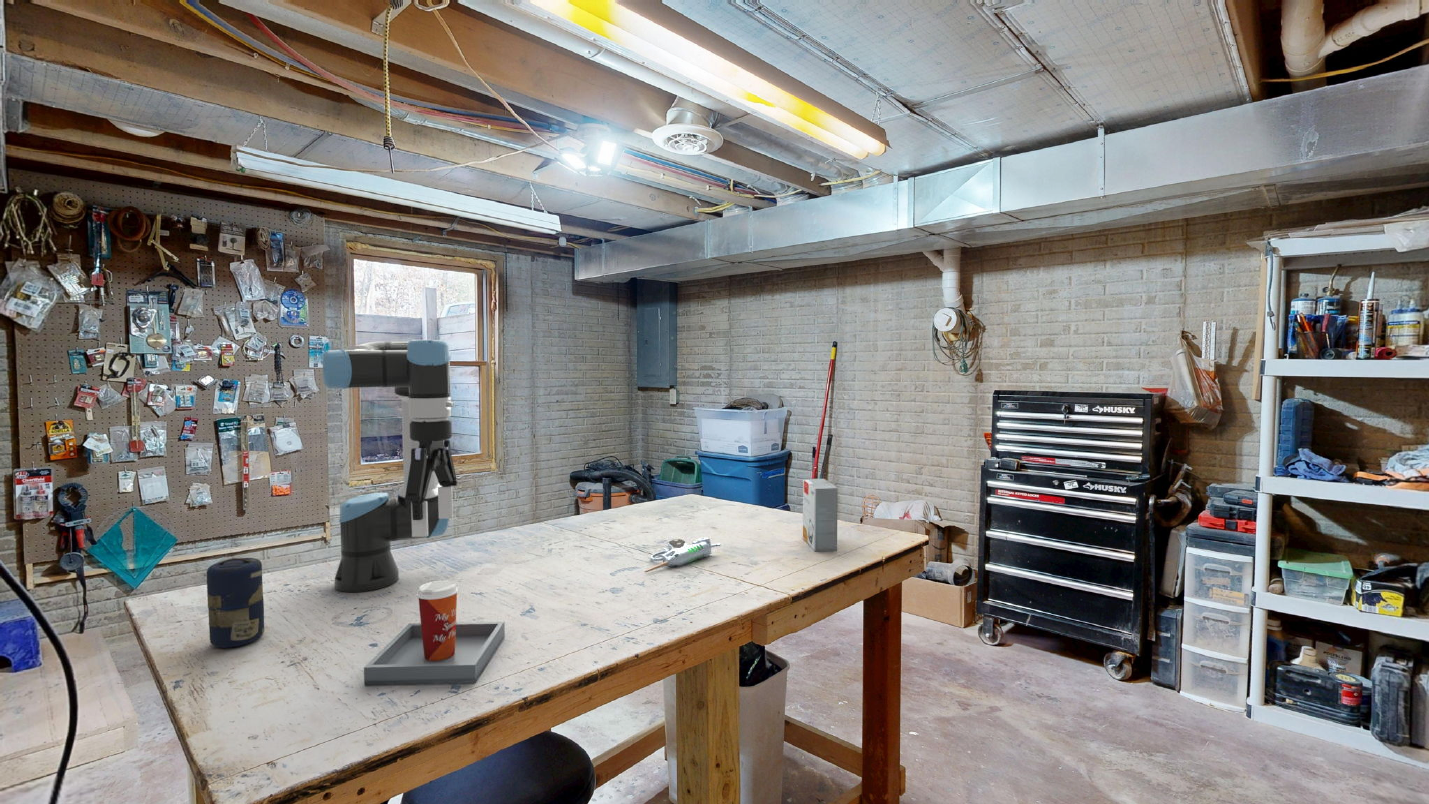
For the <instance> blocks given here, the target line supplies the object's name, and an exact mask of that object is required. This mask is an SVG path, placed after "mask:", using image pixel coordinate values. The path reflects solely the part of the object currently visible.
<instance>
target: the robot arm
mask: <svg viewBox="0 0 1429 804" xmlns="http://www.w3.org/2000/svg"><path fill="white" fill-rule="evenodd" d="M451 358H452V357H451V354H450V345H449V342H448V341H446V340H443V339H442V340H441V339H412V340H411V339H410V341H371V342H367V343H366V342H365V343H360V344H357V345H353V346H350V347H348V348H346V349H341V348H340V349H335V350H332V349H331V350H326V351H324V352H323V355H322V377H323V379H322V380H323V384H324V385H325V387H327V388H329V389H341V390H344V389H363V388H366V389H368V388H394V396H397V398H399V399H400V401H401V424H402V425H401V427H402V429H401V430H402V435H401V436H402V464H403V466H402V467H403V468H402V469H403V485H402V486H401V487H400V488H399V489H398V490H397V497H390V495H389V493H388V492H373V493H372V492H370V493H366V494H362V495H358V496H354V497H352V498H349V499H347V500H345V501H344V502H342V504H341V505H340V506H339V507H340V508H339V519H338V522H339V524H340V526H339V527H340V552H341V553H340V555H341V557H340V561H339V564H338V567H337V570H336V573H335V575H334V589H335V590H337V591H339V592H345V593H346V592H347V593H361V592H369V591H373V590H379V589H382V588H386V587H388V586H390V585H394V583H396V582H398V580H399V579H400V577H399V576H400V575H399V574H400V573H399V568H398V566H397V564H396V561H395V559H394V556H393V554H392V551H391V542H397V541H407V540H409V541H410V540H416V539H431V538H432V537H439V536H442V535H444V534H445V533H446V532H447V529H448V527H449V522H450V519H453V518H454V496H453V495H454V493H453V492H454V491H453V489H454V488H453V487H456V486H458V480H457V475H456V469H455V465H454V460H453V455H452V452H451V441H450V439H451V438H452V437H453V430H452V429H453V428H452V425H453V424H452V421H451V419H449V418H450V417H451V416H452V407H454V402H452V401H451V400H452V399H451V364H450V363H451Z"/></svg>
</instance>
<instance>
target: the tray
mask: <svg viewBox="0 0 1429 804" xmlns="http://www.w3.org/2000/svg"><path fill="white" fill-rule="evenodd" d="M505 632H506V629H505V621H474V622H473V621H472V622H471V621H470V622H468V621H467V622H456V638H455V653H454V655H453V656H451V657H450V658H448V659H445V660H440V661H428V660H426V659H425V656H424V649H423V640H422V630H421V622H419V623H408V624H407V625H406V626H405V627H404V628H403V629H402V630H401V631H400V632H399V633H397V635H396V636H394V638H392V640H390V641H389V643H387V644H386V645H385V646H384V647H383V648H382V649H381V650H380V651H379V652H378V653H377V654H376V655H375V656H374V657H373V658H371V660H370V661H369V662H368V663H367V664H366V665H365V666H364V667H363V680H364V681H363V682H364V683H363V684H364V687H376V686H377V687H381V686H384V687H386V686H416V685H417V686H418V685H419V686H420V685H422V686H425V685H426V686H427V685H459V684H460V685H461V684H462V685H464V684H468V685H469V684H476V683H477V682H478V680H479V679H480V678H481V676H482V674H483V672H484V671H485V669H486V668H487V666H488V665H489V664H490V661H491V660H492V658H493V656H494V655H495V654H496V652H497V651H498V649H499V648H500V646H501V644H502V643H503V641H504V640H505V637H506V634H505Z"/></svg>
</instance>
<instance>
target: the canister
mask: <svg viewBox="0 0 1429 804" xmlns="http://www.w3.org/2000/svg"><path fill="white" fill-rule="evenodd" d="M263 587H264V586H263V565H262V561H261V560H260V559H258V558H255V557H232V558H229V559H225V560H221V561H219V562H216V563H214V564H212V565H210V566H209V567H208V568H207V570H206V594H207V607H208V608H207V609H208V629H209V630H208V631H209V641H210V644H211V645H212V646H214V647H215V648H235V647H239V646H244V645H246V644H249V643H250V644H251V643H253V642H254V641H256V640H258V639H259V638H261V637H262V636H263V635H264V633H265V607H264V606H265V603H264V591H263V590H264V588H263Z"/></svg>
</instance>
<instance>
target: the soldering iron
mask: <svg viewBox="0 0 1429 804" xmlns="http://www.w3.org/2000/svg"><path fill="white" fill-rule="evenodd" d="M691 543H692V544H691V545H688V543H687V542H686V541H685V540H683V539H682V538H681V539H680V538H678V539H677V538H676V539H672V540H669V541H668V542H667V547H668V548H665V547H661V549H662V551H658V552H655V553H653V554H651V555H650V560H651V561H653V562H661V561H662V562H661V563H660V564H656V565H654V566H653V567H650V568H648V569H645V571H644V573H649V572H652V571H655V570H658V569H660V568H662V567H665V566H668V567H671V568H679V567H682V566H684V565H687V564H689V563H691V562H694V561H697V560H699V559H700V560H701V559H703V558H706V557H707V558H708V557H709V556H710V555H712V548H716V547H721V543H720V542H717V543H712V544H711V540H710V538H709V537H700V538H698V539H697V540H695V541H692V542H691Z"/></svg>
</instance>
